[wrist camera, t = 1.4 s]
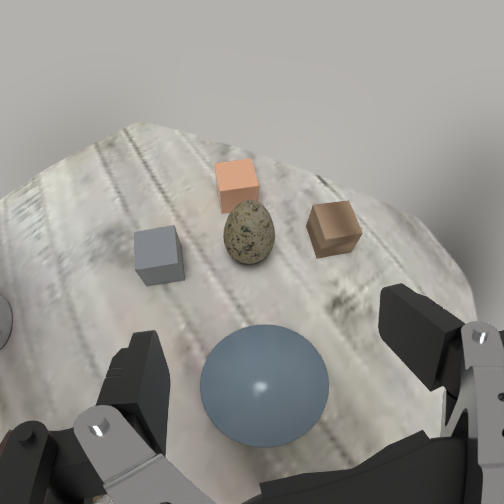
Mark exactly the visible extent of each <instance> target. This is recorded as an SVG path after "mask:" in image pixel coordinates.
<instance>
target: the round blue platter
mask: <svg viewBox="0 0 504 504" xmlns="http://www.w3.org/2000/svg"><path fill="white" fill-rule="evenodd" d="M328 391H329V381H328V374H327V369H326V367H325V364H324V361H323V359H322V358H321V356H320V354H319V353H318V351H317V350H316V348H315V347H314V346H313V345H312V344H311V343H310V342H309V341H308V340H307V339H305V338H304V337H303V336H301V335H300V334H298V333H296V332H294V331H292V330H290V329H287V328H284V327H280V326H275V325H255V326H249V327H246V328H242V329H240V330H238V331H235V332H233V333H232V334H230V335H228V336H227V337H226V338H224V339H223V340H222V341H221V342H220V343H219V344H218V345H217V346H216V347H215V348H214V349H213V350H212V352H211V353H210V355H209V356H208V358H207V360H206V362H205V365H204V367H203V371H202V375H201V382H200V392H201V398H202V402H203V405H204V408H205V410H206V412H207V415H208V416H209V418H210V419H211V421H212V422H213V423H214V425H215V426H216V427H217V428H218V429H219V430H220V431H221V432H222V433H224V434H225V435H226V436H228V437H229V438H231V439H233V440H235V441H237V442H239V443H242V444H245V445H248V446H253V447H275V446H280V445H284V444H287V443H290V442H292V441H294V440H296V439H298V438H299V437H301V436H302V435H304V434H305V433H306V432H307V431H308V430H310V429H311V428H312V427H313V425H314V424H315V423H316V422H317V420H318V419H319V417H320V416H321V414H322V412H323V410H324V408H325V405H326V402H327V398H328Z"/></svg>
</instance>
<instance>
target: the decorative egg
mask: <svg viewBox="0 0 504 504" xmlns="http://www.w3.org/2000/svg"><path fill="white" fill-rule="evenodd" d="M274 238H275V231H274V225H273V222H272V219H271V216H270V214H269V212H268V211H267V209H266V208H265V207H264V206H263V205H262V204H261V203H259V202H257V201H255V200H245V201H243V202H241V203H239V204H238V205H237V206H236V207H235V208H234V209H233V210H232V211H231V213H230V215H229V217H228V219H227V221H226V224H225V228H224V243H225V247H226V249H227V251H228V253H229V254H230V255H231V256H232V257H233V258H234V259H235V260H237V261H239V262H241V263H245V264H253V263H257V262H259V261H261V260H263V259H264V258H265V257H266V256H267V255H268V254H269V253H270V251H271V249H272V247H273V244H274Z"/></svg>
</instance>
